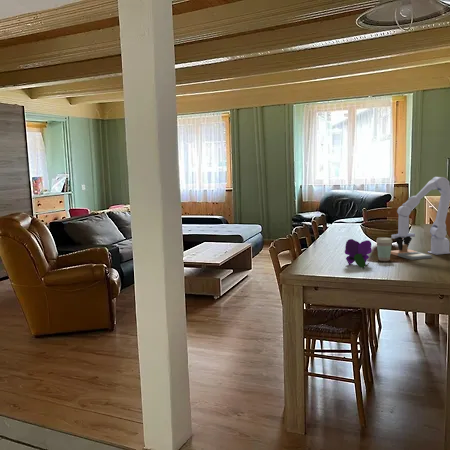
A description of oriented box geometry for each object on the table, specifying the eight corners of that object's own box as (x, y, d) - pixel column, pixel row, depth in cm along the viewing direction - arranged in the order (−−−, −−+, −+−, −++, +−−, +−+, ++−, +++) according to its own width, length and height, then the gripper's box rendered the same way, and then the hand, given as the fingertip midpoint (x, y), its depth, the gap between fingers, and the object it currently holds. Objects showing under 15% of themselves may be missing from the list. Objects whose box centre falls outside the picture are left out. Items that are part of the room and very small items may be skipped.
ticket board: (417, 254, 268) (417, 251, 268) (431, 258, 257) (431, 255, 257) (397, 256, 265) (397, 253, 265) (411, 259, 253) (411, 257, 253)
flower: (376, 277, 240) (368, 260, 251) (381, 254, 231) (373, 238, 242) (348, 278, 239) (341, 261, 250) (352, 255, 230) (345, 239, 241)
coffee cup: (391, 258, 259) (391, 237, 257) (392, 261, 251) (393, 239, 249) (375, 258, 261) (375, 237, 260) (376, 261, 253) (376, 239, 252)
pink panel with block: (408, 251, 276) (408, 242, 275) (417, 253, 269) (417, 244, 268) (389, 253, 273) (389, 244, 272) (397, 255, 265) (397, 246, 265)
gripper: (409, 225, 274) (409, 247, 276) (388, 226, 271) (388, 249, 272) (417, 226, 268) (417, 249, 269) (395, 228, 264) (395, 251, 266)
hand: (403, 249), depth 270 cm, fingers closed on pink panel with block, 3 cm apart
